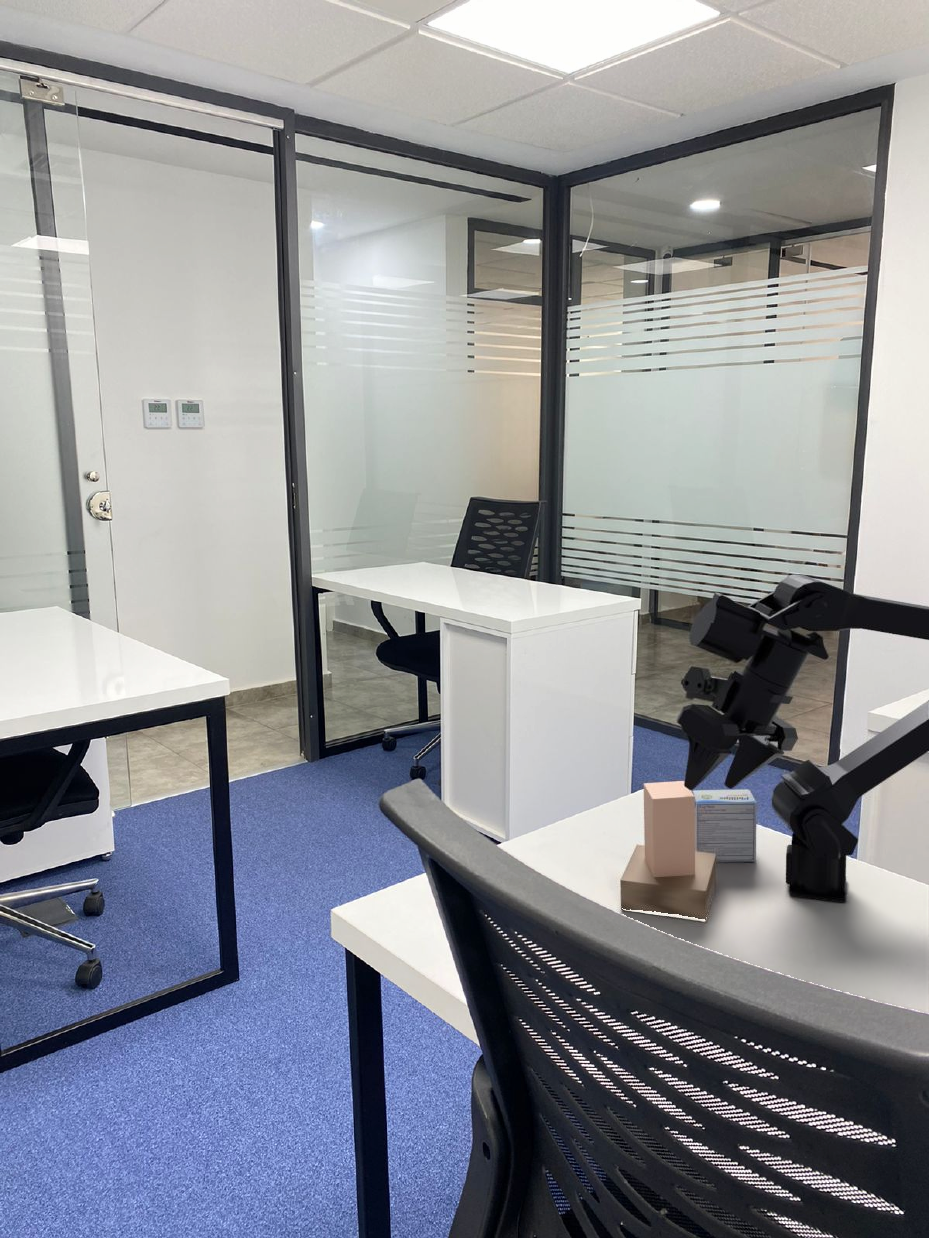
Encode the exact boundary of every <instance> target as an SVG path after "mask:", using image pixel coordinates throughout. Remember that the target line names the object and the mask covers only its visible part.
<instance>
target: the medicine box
mask: <svg viewBox="0 0 929 1238" xmlns="http://www.w3.org/2000/svg"><path fill="white" fill-rule="evenodd" d="M691 792H692V793H693V795H694V796H695V851H697V852H706V853H715V854H716V863H723V862H724V863H727V862H729V863H734V862H736V863H738V862H739V863H741V862H745V863H746V862H755V863H756V861H757V809H758V807H757V806H758V804H757V801H756V799H755V798H754V796H753V794H752V792H751V790H750V789H703V790H701V789H699V790H691Z"/></svg>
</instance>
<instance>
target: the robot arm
mask: <svg viewBox="0 0 929 1238" xmlns="http://www.w3.org/2000/svg"><path fill="white" fill-rule="evenodd" d="M766 624H767V625H769V626H771V627H773V628H777V630H776V629H773V628H770V627H767V626H765V625H766ZM797 628H800V629H802V630H805V631H809V632H810V633H806V634H804V633H801V632H799V631H798V630H795V629H797ZM853 629H854V630H855V629H856V630H857V629H860V630H867V631H874V632H879V633H885V634H891V635H896V636H897V635H898V636H901V637H902V636H903V637H909V638H914V639H921V640H927V641H929V606H928V605H920V604H916V603H910V602H904V601H899V600H898V601H897V600H892V599H885V598H880V597H876V596H869V595H863V594H857V593H854V592H851V591H848V590H846V589H843V588H840V587H837V586H836V585H835V586H834V585H832V584H829V583H826V582H823V581H821V580H819V579H815V578H813V577H810V576H807V575H805V574H791V575H788V576H787V577H785V578H783V580H781V581H780V582H779V583H778V584H777V586H776V587H775V589H774V590H773V591H771V592H770V593H768V594H766V595H765V596H763V597H761V598H759V599H757V600H756V601H754V602H752V603H751V604H749V605H747V606H746V605H744V604H742V603H739V602H736V601H734V600H733V599H732V598H730V597H728V596H726V595H724V594H722V593H719V592H714V594H713V596H712V597H711V600H710V601H709V602H707V603H706V604H704V606H703V607H702V608H701V610H700V611H699V613H697V614H696V615H695V617H694V619H693V622H692V625H691V627H690V631H689V639H688V640H689V643H690V646H693V647H695V648H697V649H700V650H702V651H704V652H707V653H708V654H711V655H714V656H716V657H720V658H721V659H724V660H726V661H730V662H731V663H734V664H737V663H740V662H742V661H745V660H746V661H747V662H746V663H745V665H744V667H743V668H742V671H740V670H734V671H732V672H731V673H730V674H729V676H728V678H723V677H720V676H715V675H714V676H713V675H711V672H710V669H709V668H706V667H705V668H704V667H700V666H693V665H691V666H690V668H689V669H688V670H687V672H685V674H684V677H683V678H682V679H681V681H680V685H681V686H682V689H683V690H684V691H685V699H688V700H694V699H697V700H703V701H707V702H711V703H712V704H711V706H710V705H709V704H697V703H691V704H689V705H684V706H683V707H682V709H681V711H680V712H679V715H678V716H677V718H676V723H678V725H680V729H681V731H682V732H683V733H684V734H685V736H686V739H687V740H688V743H689V744H688V755H687V756H688V757H687V763H686V768H685V769H686V770H685V775H684V777H685V778H684V786H685V787H686V788H687V789H689V790H691V791H694V789H695V788H697V787H698V786H699V785H700V784H701V783H702V782H703V781H705V780H706V778H708V776H709V775H710V774H712V772H714V770H716V769H717V768H718V766H719V765H720V764H722V763H723V762H724V761H725V760H726V759H727V758H728V757H729V756H730V755H731V754H732V751H731V750H730V749H732V747H734V746H735V745H736V744H737V742H738V746H737V749H736V751H735V753H734V757H733V758H732V761H731V764H730V766H729V768H728V772H727V774H726V777H725V780H724V783H723V784H724V786H725V787H726V788H728V790H734V789H735V788H736V787H737V786H738V785H740V784H741V783H743V782H744V781H745V780H747V779H748V778H749V777H751V776H752V775H754V774H755V773H757V772H758V771H760V769H761V770H762V768H764V767H766V766H767V765H769V764H770V763H771V762H773V761H774V760H776V759H778V758H779V757H782V756H784V755H785V752H792V750H793V748H794V746H795V744H797V741H798V739H799V736H798V733H797V729H796V727H794V726H793V725H791V724H790V723H788V722H786V721H785V720H784V719H782V718H780V717H779V716H777V714H778V712H779V710H780V708H781V707H782V705H783V704H786V705H791V702H792V700H793V698H794V696H792V695H791V694H789V692H790V690H791V689H792V686H793V684H794V682H795V681H796V678H797V677H798V675H799V673H800V672H801V670H802V668H803V666H804V664H805V662H806V660H807V659H808V657H809V655H812V656H814V657H817V658H819V659H822V660H824V661H826V660H828V659H829V656H830V655H829V653H828V651H827V649H826V646H825V644H824V637H823V635H821V634H820V633H818V632H839V631H840V632H841V631H847V630H853ZM720 712H721V713H720ZM927 753H929V699H928V700H927V701H925V702H924V703H922V704H921V705H919V706H918V707H916V708H915V709H913V710H912V711H910V712H909V713H907V714H906V715H904V716H903V717H902V718H900V719H898V720H897V721H895V722H893V723H892V724H890V725H889V726H888V727H887V728H885V729H884V730H882V731H881V732H879V733H878V734H876V735H875V736H874V737H871V738H870V739H869V740H868V741H867V740H866V741H865V742H864V743H863V744H861V745H859V746H858V747H857V748H855V749H854V750H852V751H851V752H849V753H848V754H846V755H845V756H843V757H842V758H840V759H838V760H837V761H836V762H834V763H832V764H829V765H823V766H818V765H816V764H815V763H814V762H813V761H812V760H811V759H806V760H805V761H803V762H801V764H800V765H798V766H797V767H796V768H795V769H793V771H790V772H788V773H786V774H781V775H780V778H781V779H782V780H781V781H780V782H778V784H777V785H776V786H775V787H774V789H773V790H772V792H773V793H772V797H771V807H772V809H773V812H774V813H775V815H777V816H778V817H779V819H780V820H781V821H782V822H783V824H785V825H786V827H787V829H789V831H791V833H792V834H791V844H788V845H787V846H786V853H785V883H786V885H789V886H788V887H789V889H788V895H790V896H791V897H799V898H807V899H813V900H814V899H815V900H822V901H831V902H838V903H839V902H840V903H846V902H847V894H848V893H847V856H852V855H853V854H854V853H855V849H856V847H857V845H858V842H859V839H858V837H856V835H854V833H852V831H850V829H848V827H846V826H845V825H844V823H846V822H847V821H848V819H849V818H850V816H851V814H852V812H853V810H854V808H855V807H856V806H857V805H856V804H857V803H858V801H859V799H861V797H863V796H864V795H865V794H867V793H868V792H870V791H871V790H873V789H875V788H876V787H878V786H879V785H881V784H883V782H885V781H887V780H888V779H890V778H891V777H892V776H894V775H896V774H897V773H899V772H900V771H901V770H903V769H905V768H906V767H907V766H909V765H911V764H912V763H914V762H916V760H918V759H919V758H921V757H923V756H924V755H926V754H927Z"/></svg>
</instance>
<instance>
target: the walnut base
mask: <svg viewBox="0 0 929 1238" xmlns="http://www.w3.org/2000/svg"><path fill="white" fill-rule="evenodd" d="M715 885H717V862H716V854H715V853H706V852H697V851H695V875H683V876H667V877H653V875H652V872H651V870H650V868H649V866H648V864H647V862H646V860H645V844H643V845H642V844H636V845H635V848H634V850H633V852H632V854H631V855H630V858H629V860H628V862H627V865H626V867H625V869H624V872H623V874H622V876H621V878H620V911H621V910H623V909H626V910H630V909H631V910H643V911H652V912H654V911H656V912H661V913H668V914H679V915H682V916H688V917H695V918H698V919H705V920H706V917H707V918H708V916H707V914H708V915H709V913H708V910H709V911H710V909H709V907H710V908H711V905H710V903H711V904H712V901H711V899H712V900H713V897H712V896H714V893H715V889H714V888H716V886H715ZM713 892H714V893H713ZM622 908H623V909H622ZM622 912H625V911H624V910H623V911H622ZM706 921H707V920H706Z"/></svg>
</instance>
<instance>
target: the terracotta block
mask: <svg viewBox="0 0 929 1238" xmlns="http://www.w3.org/2000/svg"><path fill="white" fill-rule="evenodd" d="M684 782H685V780H677V781H661V782H660V781H659V782H647V783H646V782H644V783H643V829H644V835H643V837H644V845H645V860H646V862H647V864H648V866H649V868H650V870H651V872H652V875H653V877H667V876H683V875H695V796H694V795H693V793H692V790H689V789H687V788H686V787H685V786H684Z"/></svg>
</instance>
